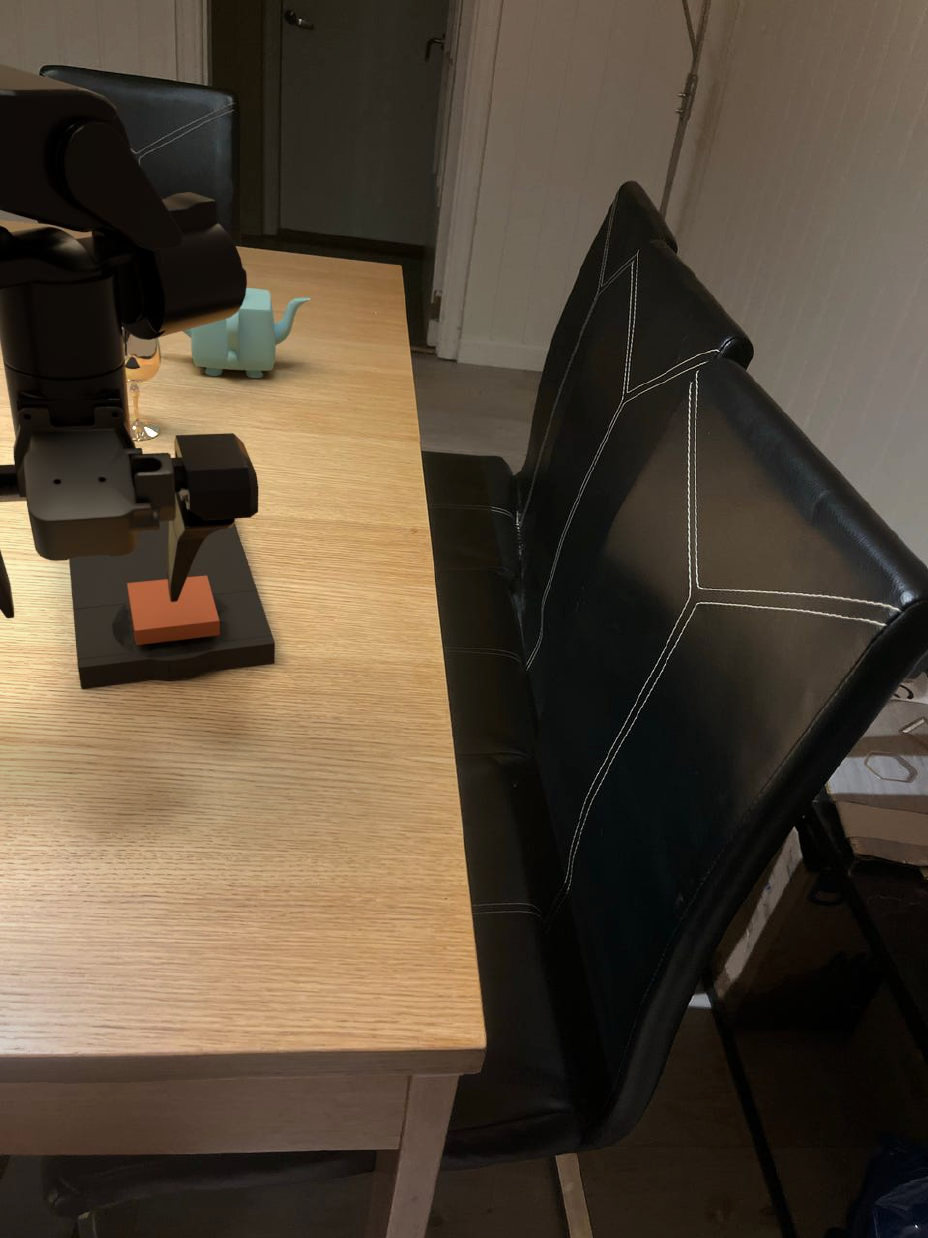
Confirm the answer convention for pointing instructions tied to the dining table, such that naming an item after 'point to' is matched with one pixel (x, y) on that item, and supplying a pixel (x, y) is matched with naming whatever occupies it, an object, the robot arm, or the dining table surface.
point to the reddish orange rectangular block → (172, 611)
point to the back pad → (119, 660)
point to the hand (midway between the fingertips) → (94, 606)
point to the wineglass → (140, 377)
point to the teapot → (243, 336)
